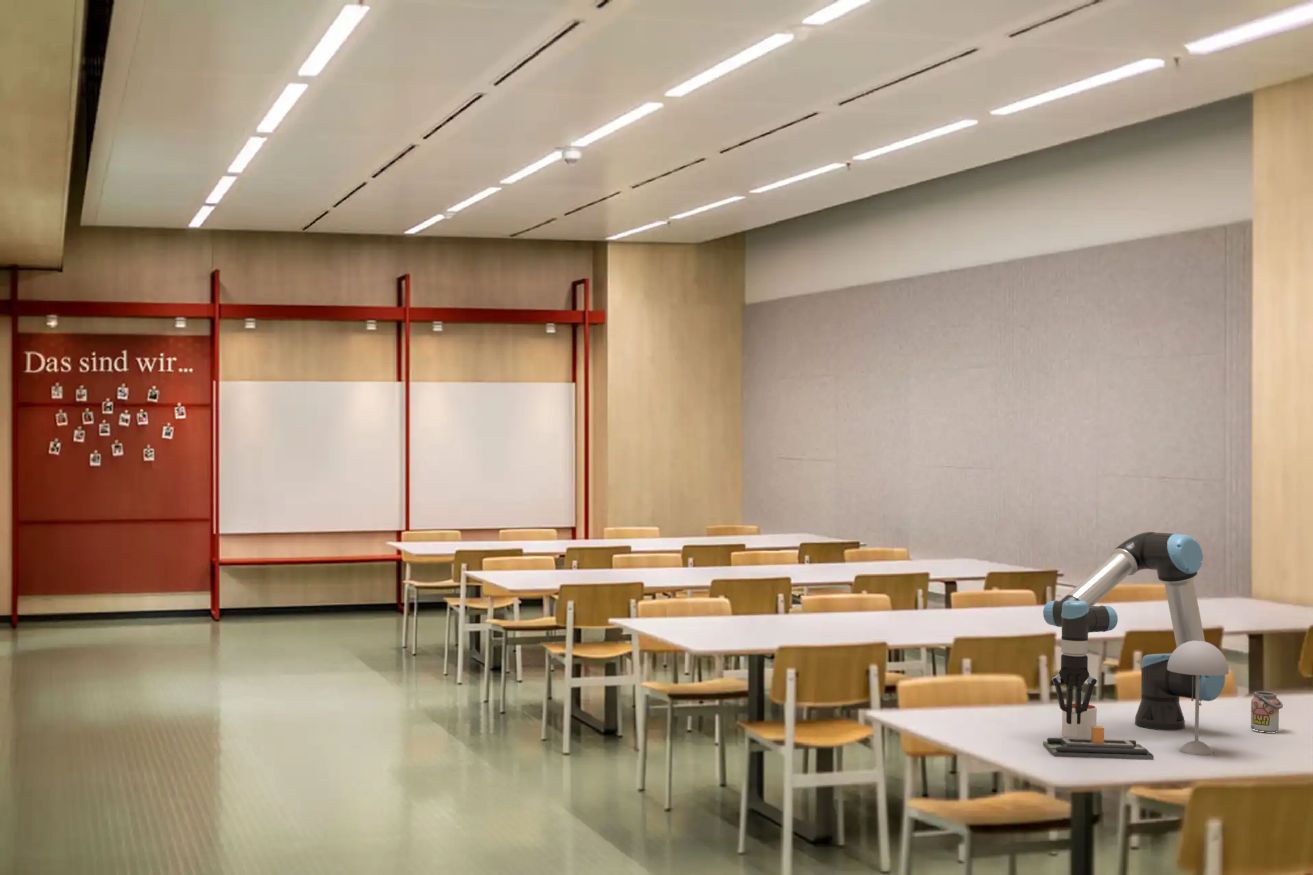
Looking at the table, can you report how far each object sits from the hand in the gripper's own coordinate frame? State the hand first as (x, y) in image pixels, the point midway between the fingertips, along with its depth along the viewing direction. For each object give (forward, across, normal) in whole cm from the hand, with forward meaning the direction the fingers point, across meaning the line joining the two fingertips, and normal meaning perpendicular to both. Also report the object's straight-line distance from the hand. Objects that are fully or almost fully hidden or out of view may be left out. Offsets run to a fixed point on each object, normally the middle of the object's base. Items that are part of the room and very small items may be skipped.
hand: (1073, 735), depth 435 cm
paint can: (+5, -69, -42) cm, 81 cm away
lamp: (+5, -37, -6) cm, 38 cm away
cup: (+5, -6, -20) cm, 21 cm away
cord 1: (+4, -7, -7) cm, 10 cm away
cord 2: (+4, -7, +6) cm, 10 cm away
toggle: (+4, -7, 0) cm, 8 cm away
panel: (+5, -7, 0) cm, 8 cm away
